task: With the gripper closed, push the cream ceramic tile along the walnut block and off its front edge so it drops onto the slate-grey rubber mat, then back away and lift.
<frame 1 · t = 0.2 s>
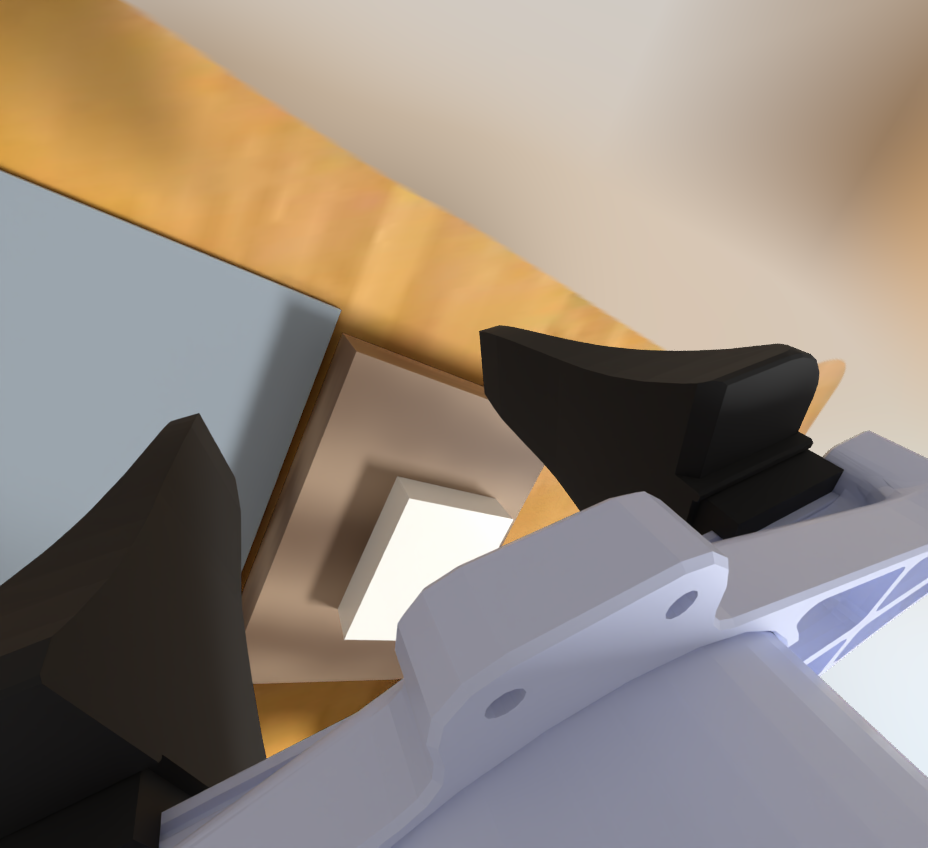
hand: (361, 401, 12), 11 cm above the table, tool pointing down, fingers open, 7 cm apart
mat: (129, 467, 20), on the table
tile: (418, 552, 24), point 3 cm above the table, touching deck
deck: (385, 512, 26), on the table
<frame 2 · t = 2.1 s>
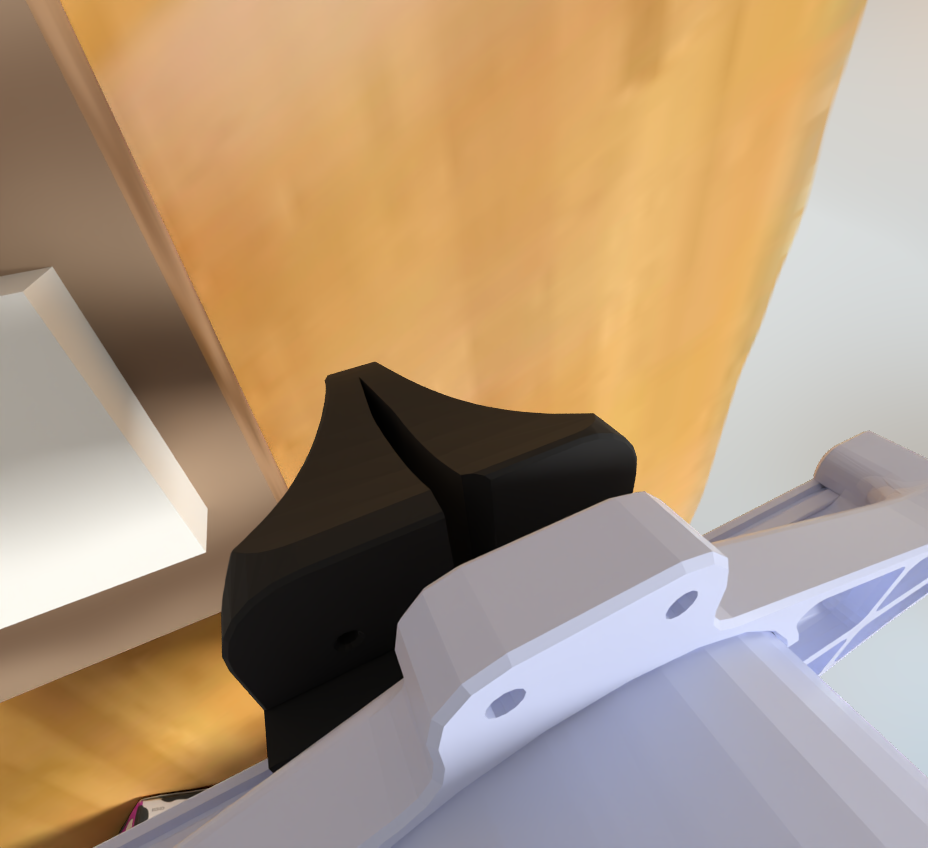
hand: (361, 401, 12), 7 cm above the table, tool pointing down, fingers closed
tile: (17, 446, 12), point 3 cm above the table, touching deck
deck: (18, 395, 14), on the table
candy bar box: (147, 836, 30), on the table
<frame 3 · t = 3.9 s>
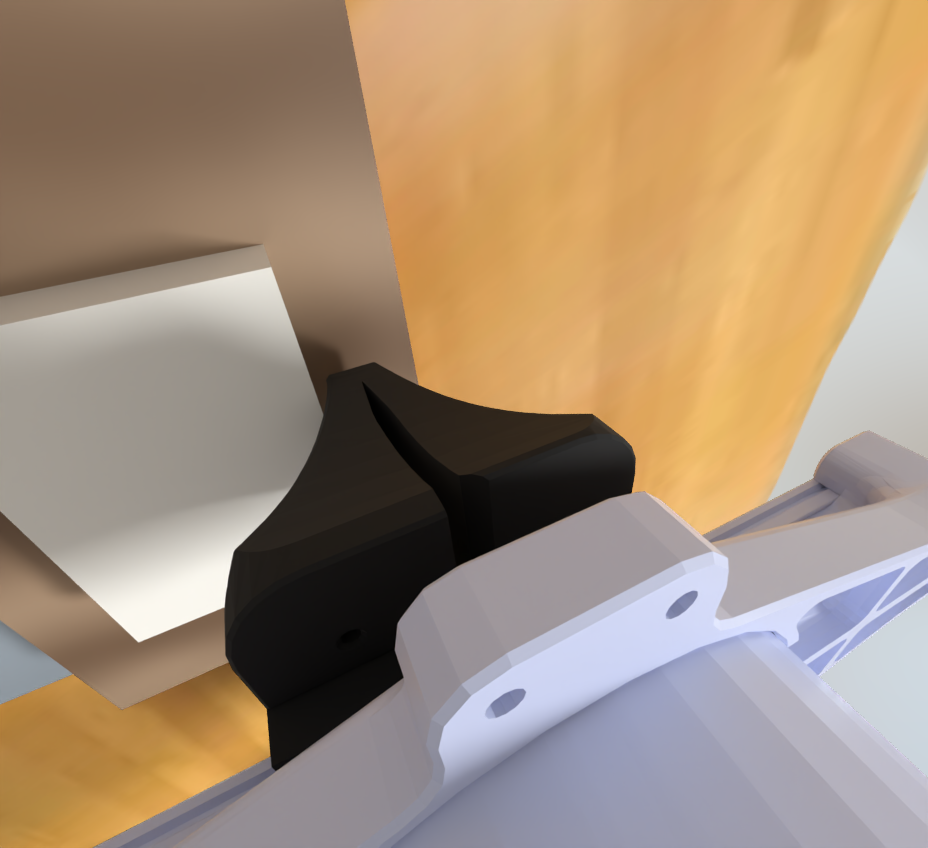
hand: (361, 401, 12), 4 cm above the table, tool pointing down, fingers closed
tile: (197, 435, 11), point 3 cm above the table, touching deck, gripper
deck: (194, 377, 14), on the table
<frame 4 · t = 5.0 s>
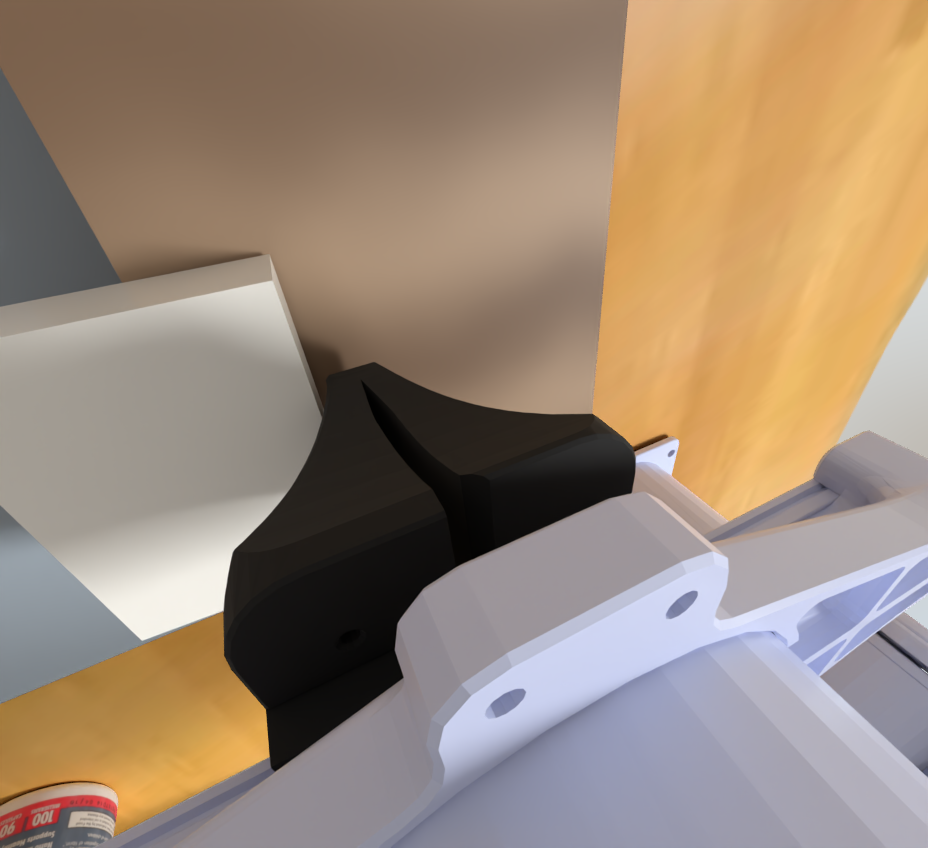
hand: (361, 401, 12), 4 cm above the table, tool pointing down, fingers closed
pill bottle: (50, 808, 21), on the table
tile: (203, 440, 11), point 3 cm above the table, touching deck, gripper
deck: (393, 323, 15), on the table
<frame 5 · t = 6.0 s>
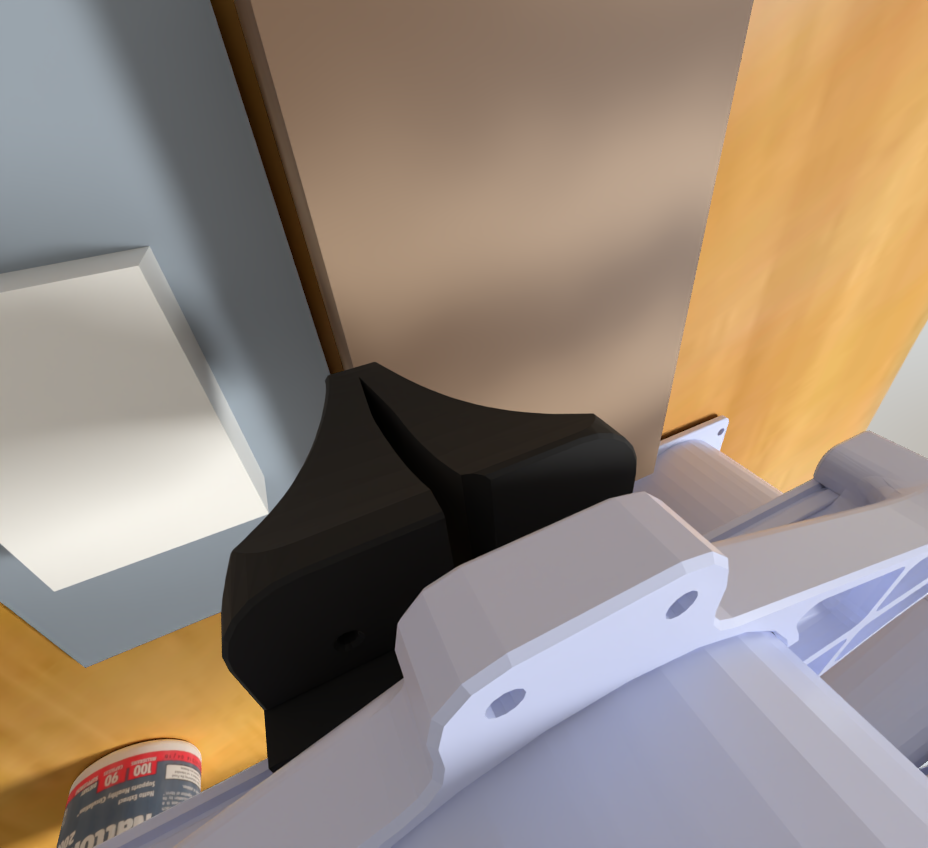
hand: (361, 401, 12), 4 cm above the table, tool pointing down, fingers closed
mat: (115, 398, 13), on the table
pill bottle: (140, 764, 22), on the table
tile: (90, 450, 11), point 2 cm above the table, tilted 180°, touching mat
deck: (494, 295, 17), on the table
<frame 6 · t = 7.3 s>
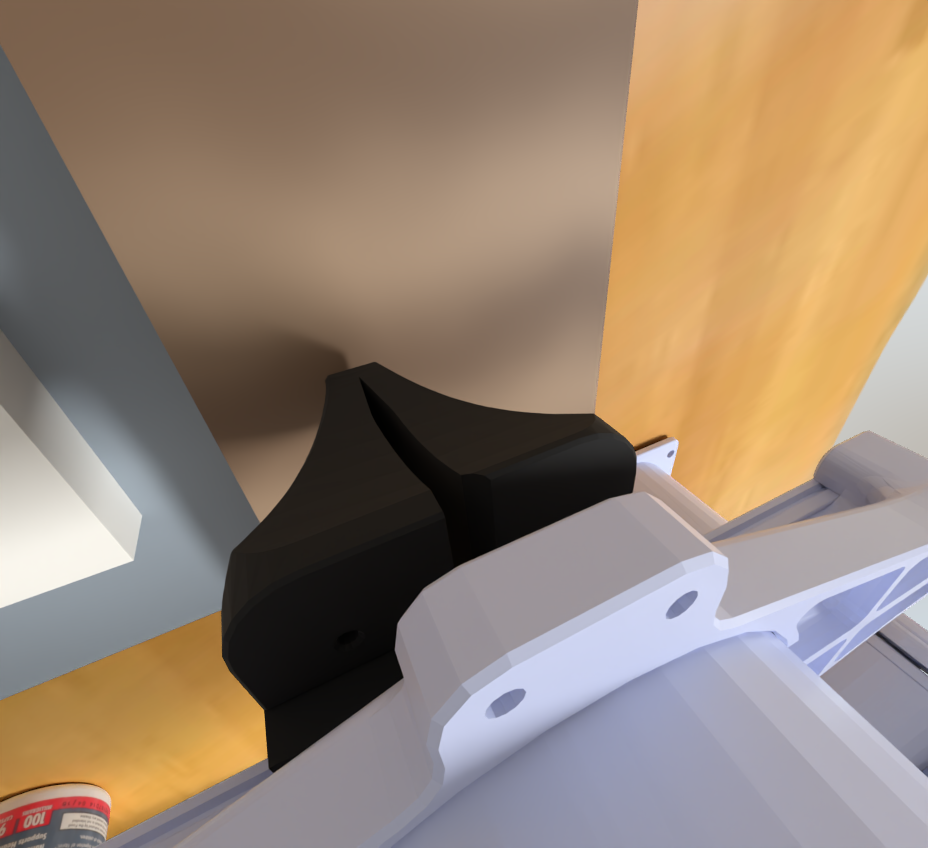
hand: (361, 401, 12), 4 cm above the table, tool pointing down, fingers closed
pill bottle: (42, 809, 21), on the table
deck: (396, 320, 15), on the table
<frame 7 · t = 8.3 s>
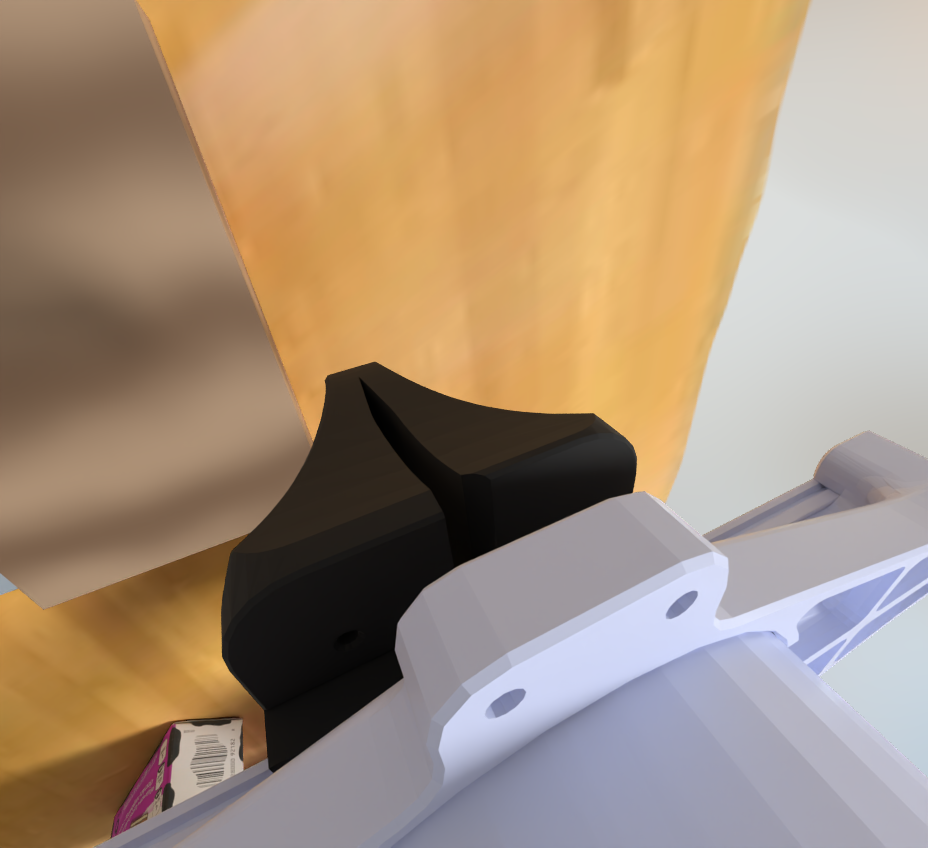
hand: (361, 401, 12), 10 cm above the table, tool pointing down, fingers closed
deck: (98, 339, 17), on the table
candy bar box: (176, 762, 33), on the table
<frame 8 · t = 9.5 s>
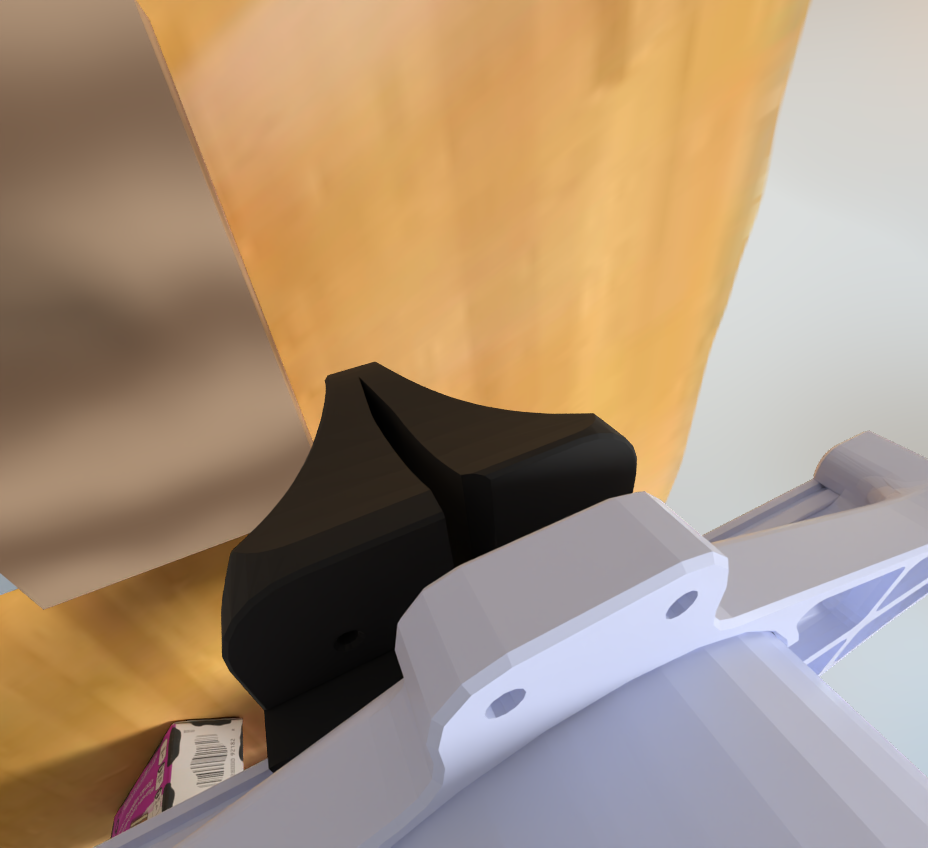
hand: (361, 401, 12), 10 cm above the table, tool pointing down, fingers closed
deck: (98, 339, 17), on the table
candy bar box: (176, 762, 33), on the table
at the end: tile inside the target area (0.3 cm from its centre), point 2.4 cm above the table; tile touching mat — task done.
